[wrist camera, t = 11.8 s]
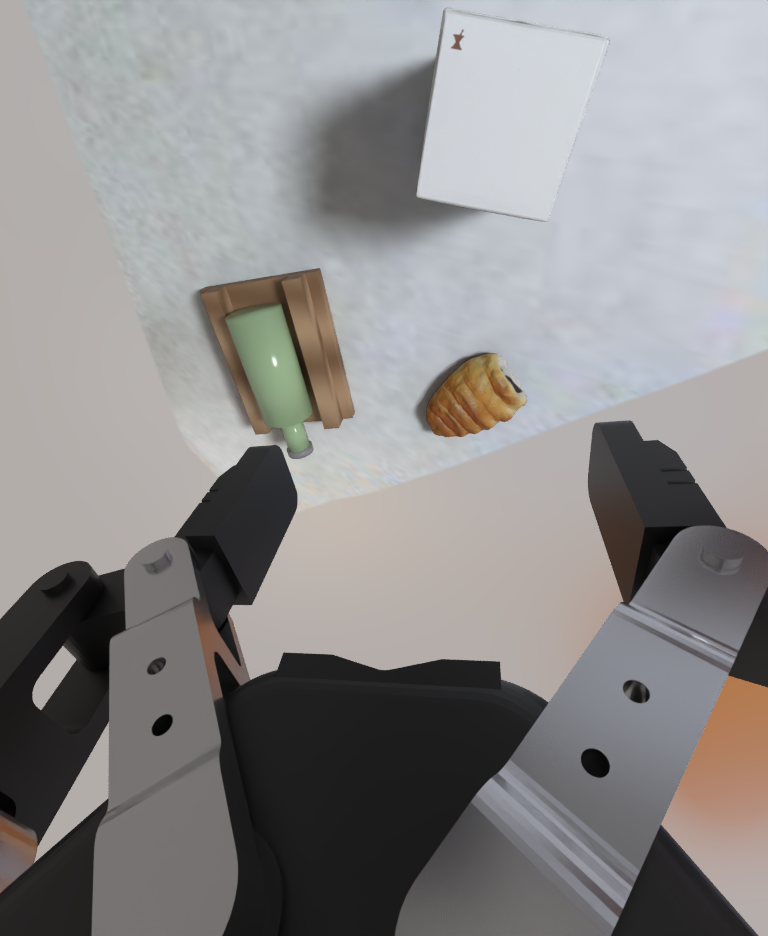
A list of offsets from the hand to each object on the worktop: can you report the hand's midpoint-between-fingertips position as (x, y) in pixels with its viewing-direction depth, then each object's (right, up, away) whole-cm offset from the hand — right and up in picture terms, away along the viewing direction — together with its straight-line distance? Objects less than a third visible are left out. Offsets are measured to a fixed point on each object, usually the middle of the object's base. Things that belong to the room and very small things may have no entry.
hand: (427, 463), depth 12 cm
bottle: (-10, +9, +32) cm, 35 cm away
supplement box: (+6, +24, +20) cm, 31 cm away
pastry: (+8, +7, +32) cm, 33 cm away
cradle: (-11, +11, +32) cm, 35 cm away
